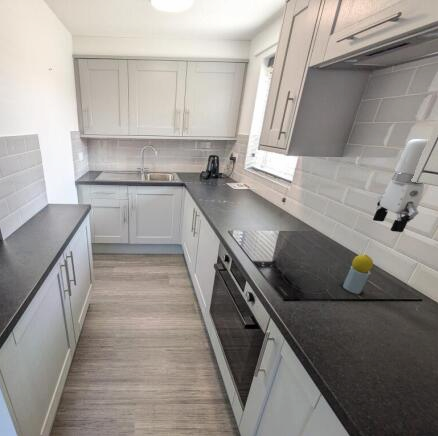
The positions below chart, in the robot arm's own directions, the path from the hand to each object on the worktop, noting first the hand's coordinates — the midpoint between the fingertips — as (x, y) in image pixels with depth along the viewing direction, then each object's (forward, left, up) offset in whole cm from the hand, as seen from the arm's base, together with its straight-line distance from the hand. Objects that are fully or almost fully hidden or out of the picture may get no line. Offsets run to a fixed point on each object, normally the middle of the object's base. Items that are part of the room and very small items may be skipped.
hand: (386, 225), depth 82 cm
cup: (+3, +3, -27) cm, 27 cm away
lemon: (+4, +3, -19) cm, 20 cm away
